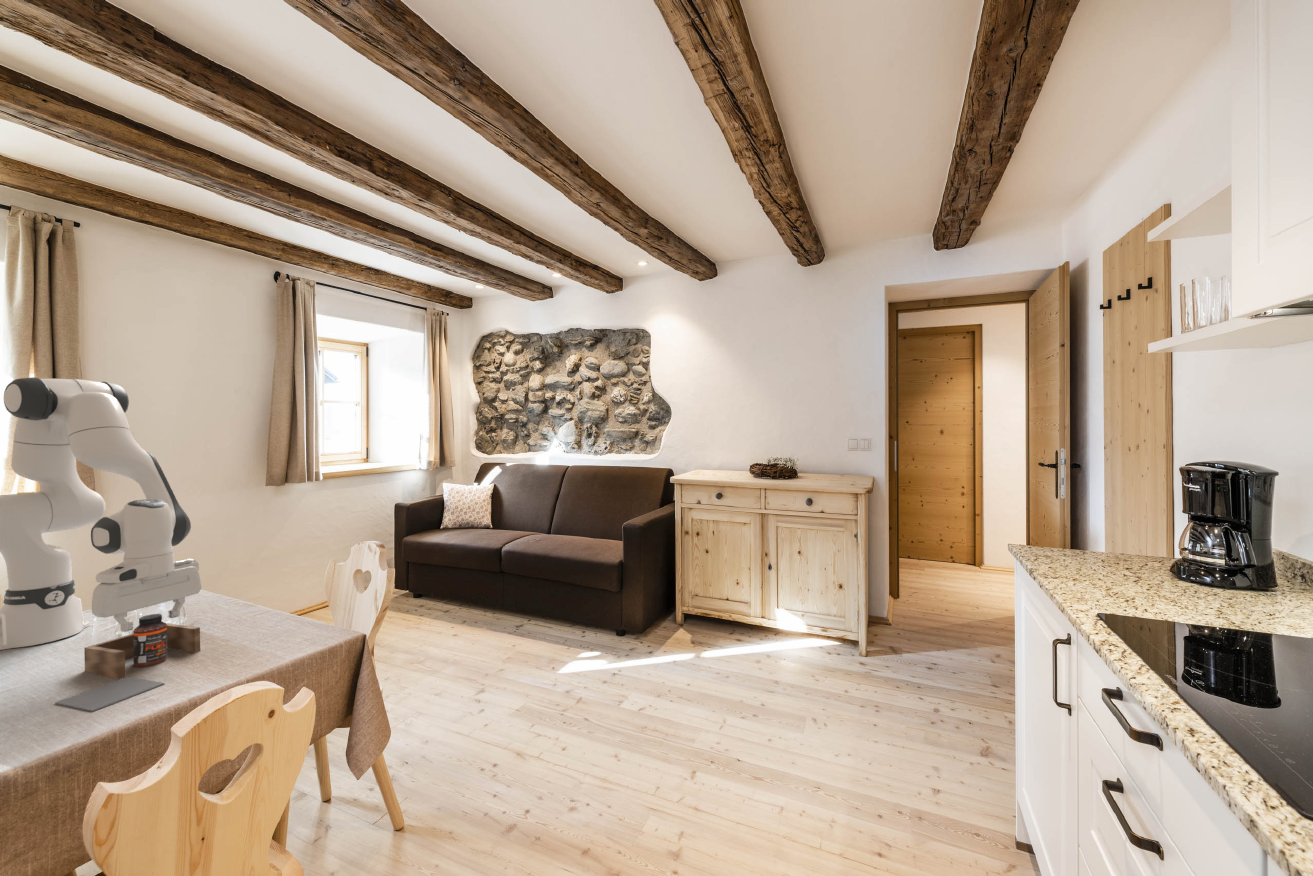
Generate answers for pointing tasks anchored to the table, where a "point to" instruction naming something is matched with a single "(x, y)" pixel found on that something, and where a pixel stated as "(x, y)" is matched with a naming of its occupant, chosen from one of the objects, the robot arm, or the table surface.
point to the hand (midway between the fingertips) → (151, 623)
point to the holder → (114, 652)
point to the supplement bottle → (150, 641)
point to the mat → (109, 694)
